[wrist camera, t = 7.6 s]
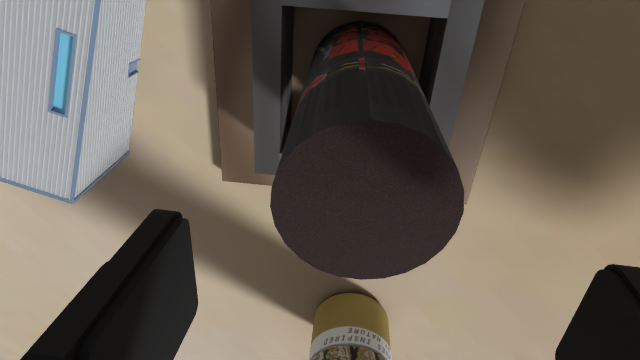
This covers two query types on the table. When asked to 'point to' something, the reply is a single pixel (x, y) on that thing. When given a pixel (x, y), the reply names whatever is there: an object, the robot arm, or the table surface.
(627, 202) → the table surface
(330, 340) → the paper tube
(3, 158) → the warehouse
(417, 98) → the deodorant
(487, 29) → the holder
